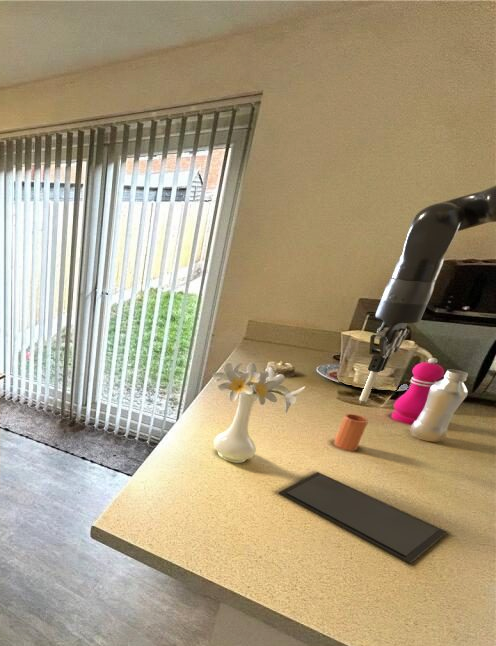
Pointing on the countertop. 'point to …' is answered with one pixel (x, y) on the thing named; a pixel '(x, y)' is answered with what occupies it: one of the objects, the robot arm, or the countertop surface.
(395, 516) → the tablet
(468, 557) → the countertop surface
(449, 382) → the plastic bottle
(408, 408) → the pepper mill
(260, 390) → the flower vase
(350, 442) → the pen cup
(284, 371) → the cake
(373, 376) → the stylus
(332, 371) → the ceramic plate
